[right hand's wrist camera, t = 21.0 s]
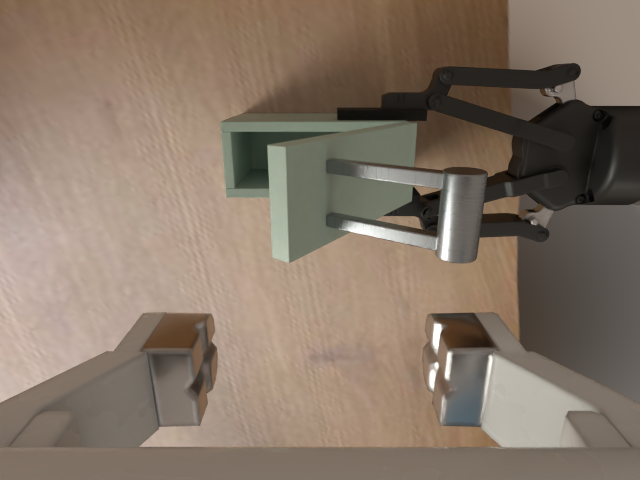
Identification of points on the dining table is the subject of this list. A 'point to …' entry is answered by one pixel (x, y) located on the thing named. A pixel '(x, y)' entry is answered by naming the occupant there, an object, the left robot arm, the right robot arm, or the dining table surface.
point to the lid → (367, 193)
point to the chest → (269, 128)
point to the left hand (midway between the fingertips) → (337, 155)
